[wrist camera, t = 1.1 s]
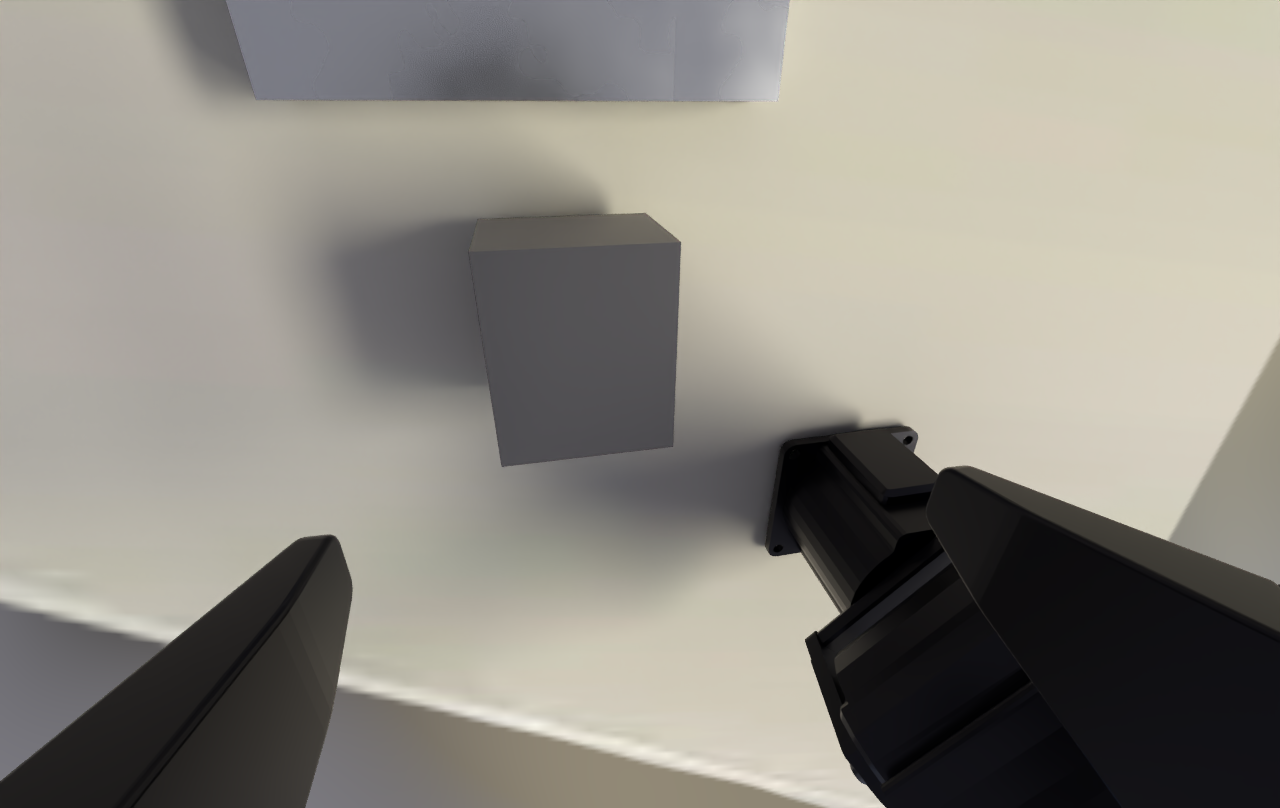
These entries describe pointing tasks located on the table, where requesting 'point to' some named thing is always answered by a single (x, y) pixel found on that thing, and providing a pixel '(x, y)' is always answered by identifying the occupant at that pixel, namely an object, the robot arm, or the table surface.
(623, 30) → the socket
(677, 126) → the table surface
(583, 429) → the plug
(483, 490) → the table surface
